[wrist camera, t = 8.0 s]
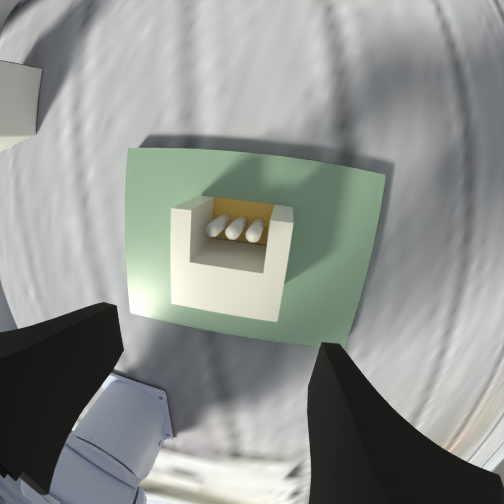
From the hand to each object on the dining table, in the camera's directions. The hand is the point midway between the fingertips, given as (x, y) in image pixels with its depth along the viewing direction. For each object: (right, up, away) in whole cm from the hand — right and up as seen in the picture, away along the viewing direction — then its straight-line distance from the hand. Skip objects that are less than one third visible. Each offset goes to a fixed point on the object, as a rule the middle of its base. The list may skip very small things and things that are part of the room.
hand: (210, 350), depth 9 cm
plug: (+1, +4, +8) cm, 9 cm away
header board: (+1, +4, +9) cm, 10 cm away
